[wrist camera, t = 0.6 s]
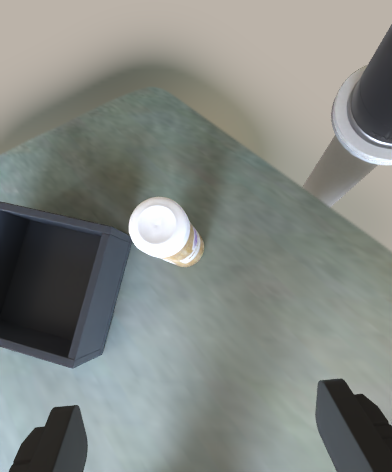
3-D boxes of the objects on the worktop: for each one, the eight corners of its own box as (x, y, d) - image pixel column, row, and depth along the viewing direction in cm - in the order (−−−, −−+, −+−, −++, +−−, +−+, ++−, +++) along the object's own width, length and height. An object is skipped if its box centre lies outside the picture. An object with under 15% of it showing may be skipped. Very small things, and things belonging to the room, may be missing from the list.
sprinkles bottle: (208, 261, 37) (193, 245, 24) (170, 271, 38) (134, 262, 25) (198, 222, 38) (178, 187, 25) (160, 233, 39) (121, 204, 25)
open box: (30, 213, 41) (-11, 199, 34) (133, 237, 39) (111, 226, 32) (-4, 323, 39) (-54, 330, 33) (102, 354, 37) (72, 368, 31)
